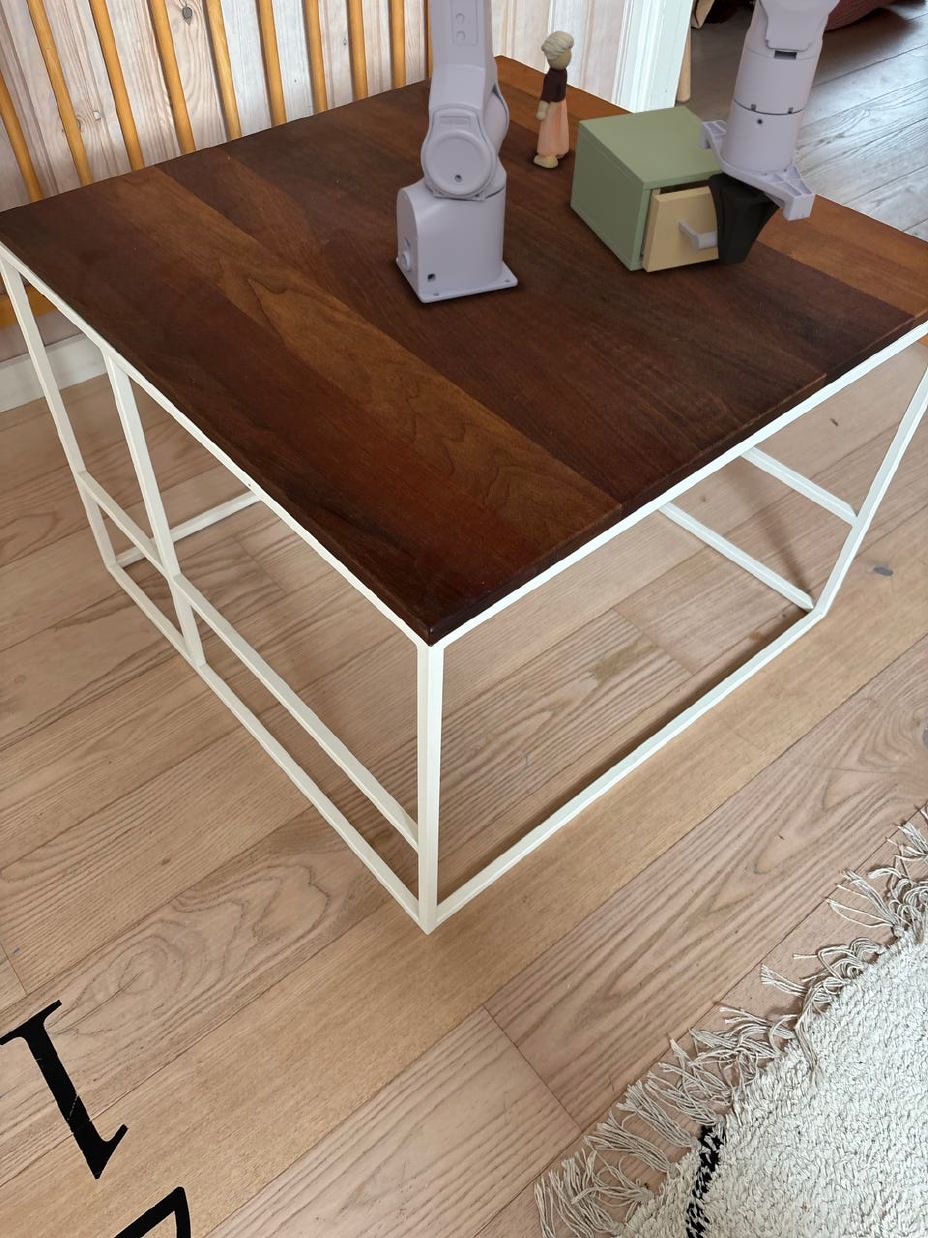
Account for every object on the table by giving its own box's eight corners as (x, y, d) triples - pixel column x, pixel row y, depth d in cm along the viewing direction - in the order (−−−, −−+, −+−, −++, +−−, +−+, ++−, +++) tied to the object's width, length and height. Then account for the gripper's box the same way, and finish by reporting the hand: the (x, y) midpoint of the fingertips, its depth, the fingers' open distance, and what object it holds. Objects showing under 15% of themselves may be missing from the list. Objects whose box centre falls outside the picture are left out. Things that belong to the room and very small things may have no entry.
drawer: (766, 274, 93) (785, 204, 88) (668, 294, 90) (682, 222, 85) (680, 195, 103) (692, 127, 98) (589, 211, 100) (597, 142, 95)
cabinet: (735, 250, 97) (756, 163, 91) (630, 271, 95) (644, 181, 88) (668, 189, 106) (683, 104, 99) (570, 206, 103) (578, 120, 96)
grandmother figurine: (563, 173, 108) (574, 46, 98) (528, 170, 108) (536, 42, 99) (572, 143, 113) (584, 19, 103) (538, 140, 113) (547, 16, 104)
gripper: (866, 130, 75) (815, 293, 85) (763, 60, 84) (728, 215, 94) (787, 143, 73) (744, 307, 84) (690, 70, 82) (662, 227, 92)
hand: (731, 259), depth 89 cm, fingers closed
